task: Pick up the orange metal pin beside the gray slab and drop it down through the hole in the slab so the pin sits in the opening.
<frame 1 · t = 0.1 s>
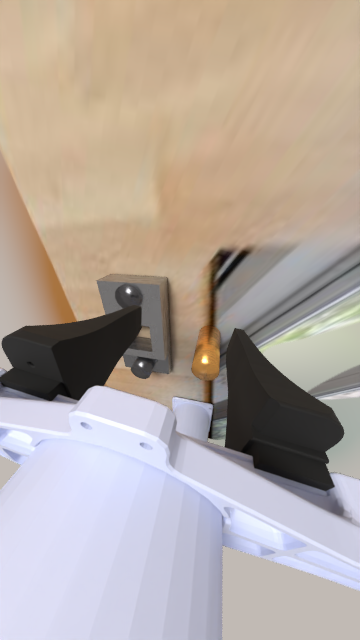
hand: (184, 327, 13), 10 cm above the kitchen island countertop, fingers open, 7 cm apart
gray slab: (144, 326, 26), on the kitchen island countertop
pin: (209, 334, 24), on the kitchen island countertop
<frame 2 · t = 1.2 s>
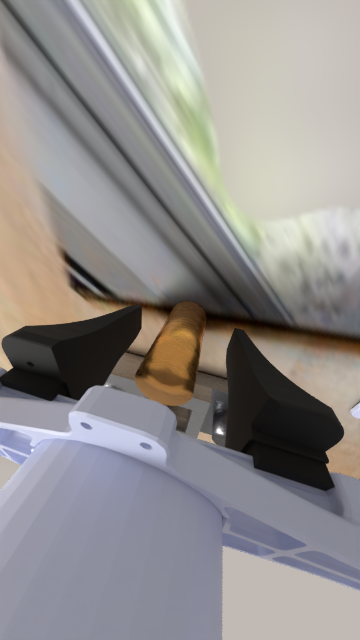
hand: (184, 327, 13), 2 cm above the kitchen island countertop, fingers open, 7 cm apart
gray slab: (174, 390, 19), on the kitchen island countertop
pin: (188, 317, 14), on the kitchen island countertop
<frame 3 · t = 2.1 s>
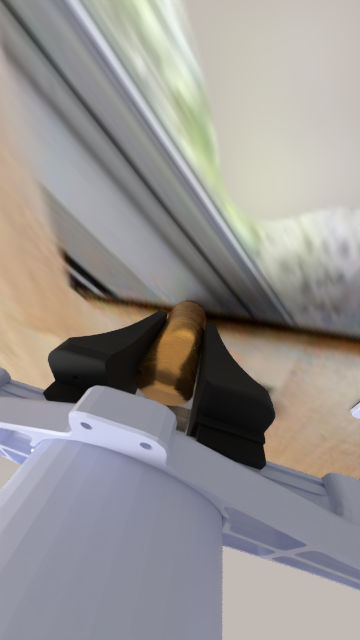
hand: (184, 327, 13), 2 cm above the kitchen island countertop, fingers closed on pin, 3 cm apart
gray slab: (174, 390, 19), on the kitchen island countertop
pin: (188, 317, 14), on the kitchen island countertop, touching gripper
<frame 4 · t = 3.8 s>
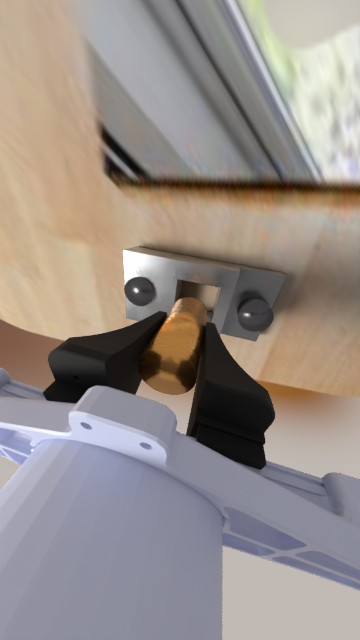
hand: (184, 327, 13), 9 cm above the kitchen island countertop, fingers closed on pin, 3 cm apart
gray slab: (198, 292, 20), on the kitchen island countertop
pin: (189, 313, 14), point 7 cm above the kitchen island countertop, touching gripper
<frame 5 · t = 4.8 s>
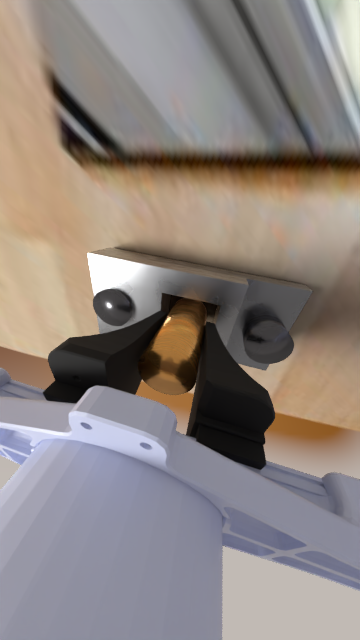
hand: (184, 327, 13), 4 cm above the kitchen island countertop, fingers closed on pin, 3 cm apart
gray slab: (192, 307, 16), on the kitchen island countertop
pin: (189, 313, 14), point 2 cm above the kitchen island countertop, touching gripper
when the fingers open (3 cm above the kitchen island countertop, at t = 5.5 s): pin drops 1 cm, resting in gray slab.
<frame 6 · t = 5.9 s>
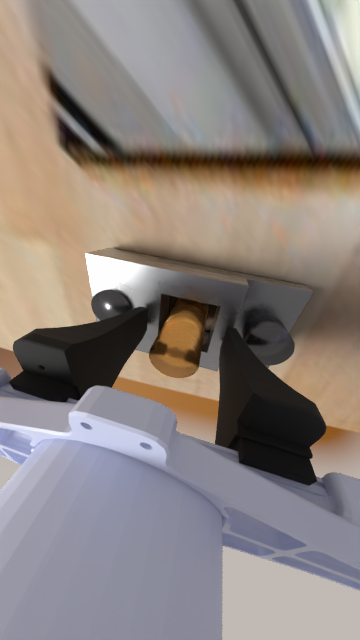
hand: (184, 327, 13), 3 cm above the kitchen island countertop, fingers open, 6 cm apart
gray slab: (191, 308, 16), on the kitchen island countertop
pin: (192, 306, 15), resting in gray slab
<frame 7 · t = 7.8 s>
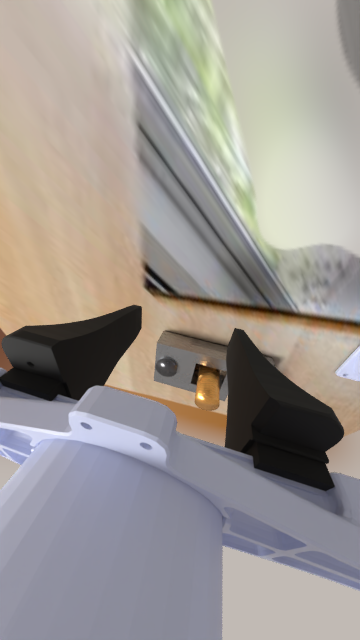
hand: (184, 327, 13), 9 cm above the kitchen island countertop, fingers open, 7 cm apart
gray slab: (209, 363, 26), on the kitchen island countertop
pin: (209, 362, 26), resting in gray slab
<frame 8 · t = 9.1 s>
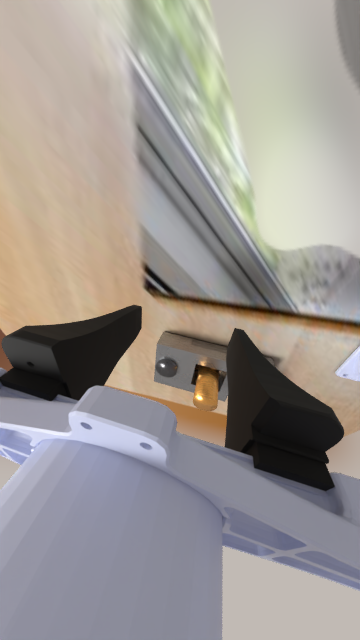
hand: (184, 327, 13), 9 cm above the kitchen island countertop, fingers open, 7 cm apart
gray slab: (209, 363, 26), on the kitchen island countertop
pin: (209, 362, 26), resting in gray slab
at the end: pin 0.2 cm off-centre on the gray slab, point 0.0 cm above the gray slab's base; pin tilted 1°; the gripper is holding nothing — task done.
